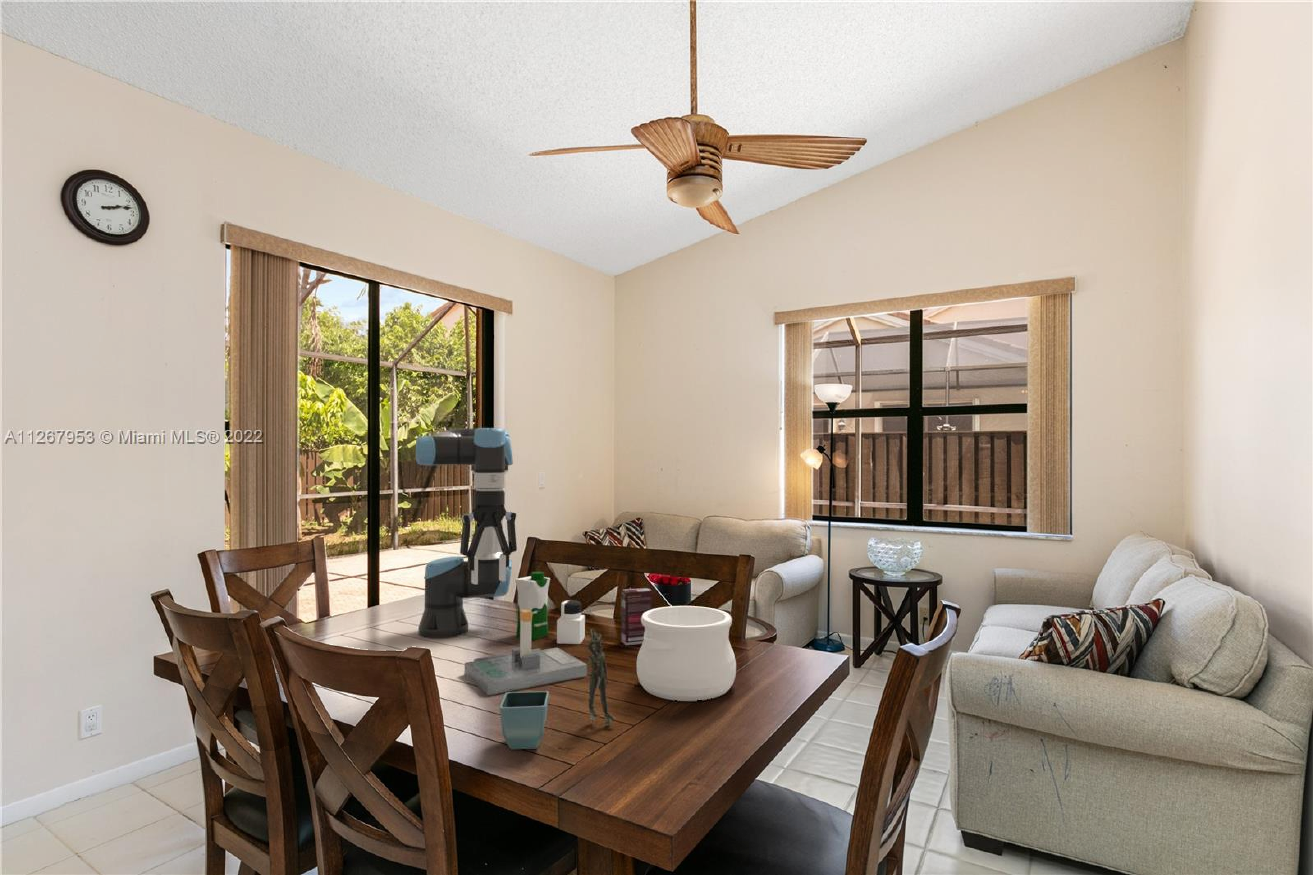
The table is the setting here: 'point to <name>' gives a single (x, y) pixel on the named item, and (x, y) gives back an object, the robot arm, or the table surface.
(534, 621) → the milk carton
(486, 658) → the cords
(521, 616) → the lever
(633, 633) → the supplement box
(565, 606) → the medicine bottle
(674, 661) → the pot
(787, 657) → the table surface
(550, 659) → the panel
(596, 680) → the statue
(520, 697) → the flower pot
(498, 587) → the robot arm
